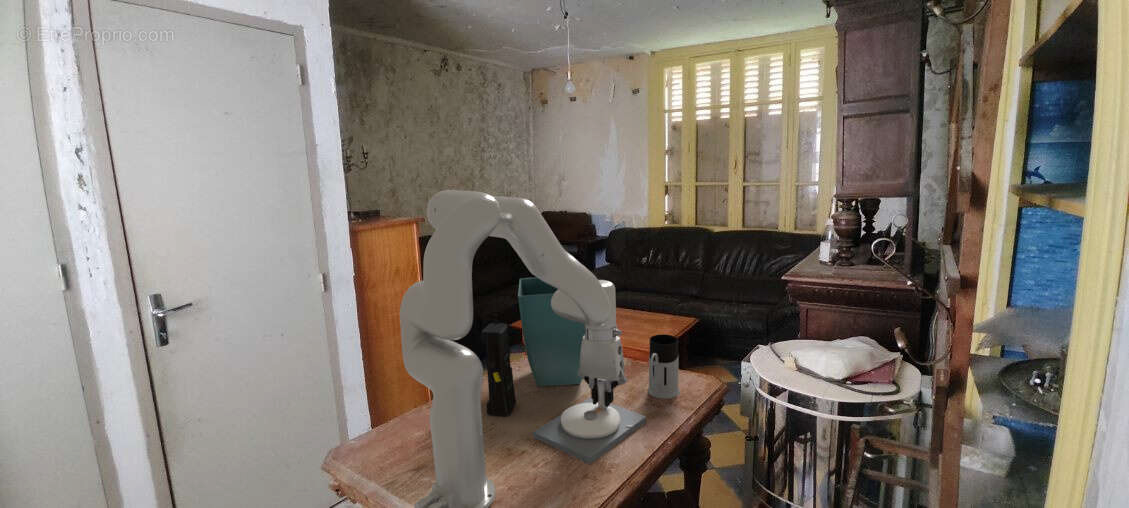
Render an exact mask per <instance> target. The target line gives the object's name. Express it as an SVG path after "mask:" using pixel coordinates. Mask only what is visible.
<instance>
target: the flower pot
mask: <svg viewBox="0 0 1129 508" xmlns="http://www.w3.org/2000/svg"><path fill="white" fill-rule="evenodd" d="M518 283H519V284H518V292H517V298H518V305H519V314H520V321H521V329H522V338H523V344H524V348H525V353H526V356H527V361H528V364H529V367H530V371H531V374H532V375H533V379H534V382H535V383H536V386H537V387H551V386H552V387H553V386H554V387H555V386H567V385H579V384H582V382H583V379H582V378H581V377H579V376H578V375H577V372H578V370H579V368H580V351H581V344H582V338H583V336H584V335H585V324H582V323H579V322H575V321H571V320H568V319H565V318H562V317H560V316H558V315H557V314H556V313H555V312H554V311H553V309H552V307H551V299H552V296H553V295H554V293H555V292H556V291H557V290H558V289H557V288H555V287H553V286H551V285H549V284H547V283H545V282H544V281H542V280H540V279H539V278H538V277H536V276H535V277H526V278H525V277H523V278H519V282H518Z"/></svg>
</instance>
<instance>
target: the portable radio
mask: <svg viewBox="0 0 1129 508" xmlns="http://www.w3.org/2000/svg"><path fill="white" fill-rule="evenodd" d="M497 316H498V314H494V317H495V321H494V322H493V323H489V324H488V325H486V327H484V329H482V330H481V332H480V336H481V338H480V339H481V343H484V345H485V356H486V372H487V384H488V385H487V386H488V397H489V398H488V401H487V403H486V414H487V415H489V416H497V417H498V416H499V417H508V416H509V415H510V414H511V413H512V411H513V410H514V407H515V405H516V404H517V400H516V394H515V386H514V383H515V382H514V375H513V374H514V373H513V367H512V366H511V359H510V355H511V344H510V331H509V326H508V323H502V322H499V320H498V317H497Z"/></svg>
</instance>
